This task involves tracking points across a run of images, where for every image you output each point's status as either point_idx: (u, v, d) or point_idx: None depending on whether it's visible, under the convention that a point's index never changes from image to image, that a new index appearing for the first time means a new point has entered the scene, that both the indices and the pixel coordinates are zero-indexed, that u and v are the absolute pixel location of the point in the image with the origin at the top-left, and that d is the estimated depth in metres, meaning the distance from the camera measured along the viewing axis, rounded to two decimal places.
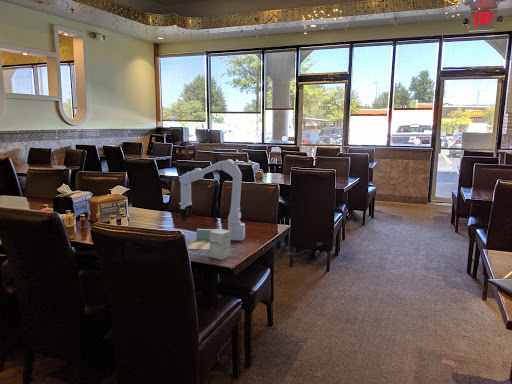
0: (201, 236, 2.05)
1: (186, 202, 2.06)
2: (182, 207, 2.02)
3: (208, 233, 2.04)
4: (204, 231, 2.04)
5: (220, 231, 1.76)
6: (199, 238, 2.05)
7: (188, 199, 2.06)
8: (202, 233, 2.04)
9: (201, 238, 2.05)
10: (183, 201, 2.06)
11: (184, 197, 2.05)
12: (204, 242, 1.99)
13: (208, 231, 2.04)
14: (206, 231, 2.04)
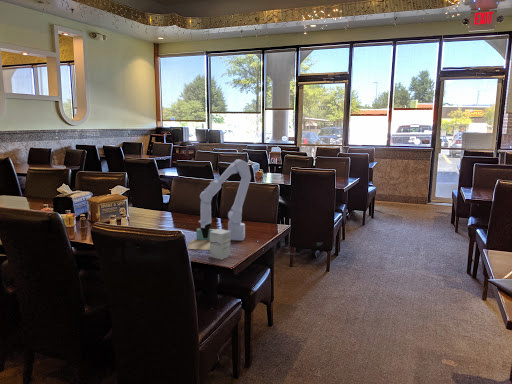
0: (201, 236, 2.05)
1: (206, 220, 2.01)
2: (202, 226, 1.97)
3: (208, 233, 2.04)
4: None
5: (220, 231, 1.76)
6: (199, 238, 2.05)
7: (208, 217, 2.01)
8: None
9: (201, 238, 2.05)
10: (203, 219, 2.01)
11: (204, 215, 2.00)
12: (204, 242, 1.99)
13: None
14: None
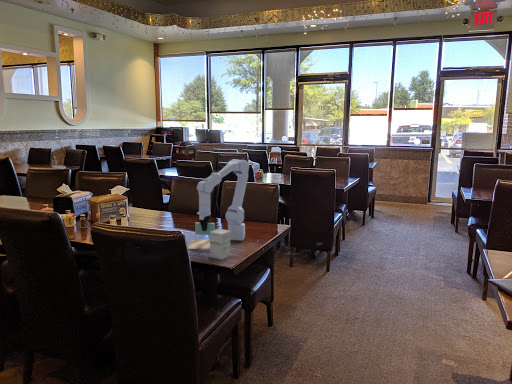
0: (200, 230, 1.93)
1: (205, 212, 1.89)
2: (201, 218, 1.85)
3: (207, 227, 1.92)
4: None
5: (220, 231, 1.76)
6: (198, 232, 1.93)
7: (207, 209, 1.90)
8: None
9: (200, 232, 1.93)
10: (202, 211, 1.89)
11: (203, 207, 1.89)
12: (204, 242, 1.99)
13: (207, 225, 1.92)
14: None
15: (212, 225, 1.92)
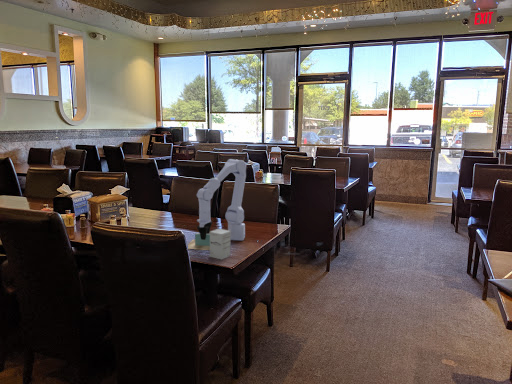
0: (200, 241, 1.94)
1: (205, 219, 1.90)
2: (201, 225, 1.86)
3: (207, 238, 1.93)
4: None
5: (220, 231, 1.76)
6: (198, 243, 1.94)
7: (207, 216, 1.90)
8: None
9: (200, 243, 1.94)
10: (202, 218, 1.90)
11: (203, 214, 1.89)
12: None
13: (207, 236, 1.93)
14: None
15: None
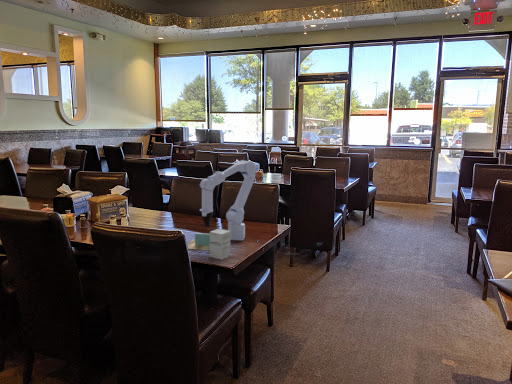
0: (200, 241, 1.94)
1: (207, 209, 1.95)
2: (204, 214, 1.90)
3: (207, 238, 1.93)
4: (203, 236, 1.93)
5: (220, 231, 1.76)
6: (198, 243, 1.94)
7: (210, 206, 1.95)
8: (201, 238, 1.94)
9: (200, 243, 1.94)
10: (204, 208, 1.95)
11: (205, 204, 1.94)
12: None
13: (207, 236, 1.93)
14: (205, 236, 1.93)
15: None
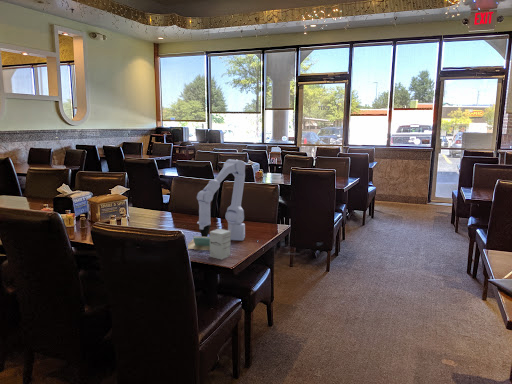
0: (199, 243, 1.93)
1: (205, 222, 1.90)
2: (201, 227, 1.86)
3: (206, 241, 1.91)
4: (201, 239, 1.90)
5: (220, 231, 1.76)
6: (197, 244, 1.94)
7: (207, 218, 1.90)
8: (200, 241, 1.91)
9: (199, 244, 1.93)
10: (202, 221, 1.90)
11: (203, 216, 1.89)
12: None
13: (206, 240, 1.90)
14: (204, 240, 1.90)
15: None
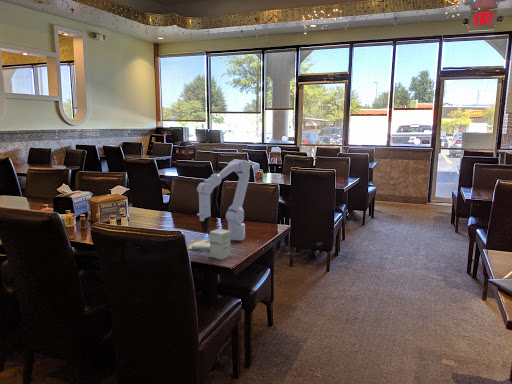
0: None
1: (205, 213, 1.92)
2: (201, 219, 1.88)
3: None
4: None
5: (220, 231, 1.76)
6: None
7: (207, 210, 1.92)
8: None
9: None
10: (202, 212, 1.92)
11: (203, 208, 1.91)
12: (204, 242, 1.99)
13: None
14: None
15: None
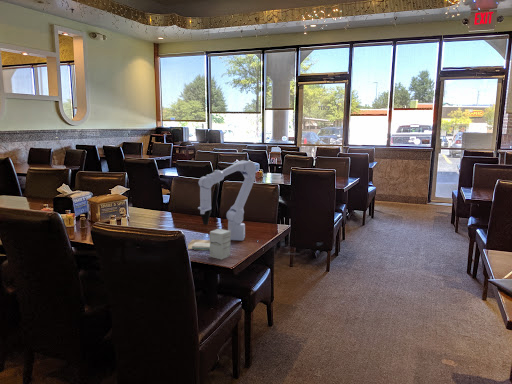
0: None
1: (206, 207, 1.95)
2: (202, 212, 1.91)
3: None
4: None
5: (220, 231, 1.76)
6: None
7: (208, 203, 1.95)
8: None
9: None
10: (203, 206, 1.95)
11: (204, 201, 1.94)
12: (204, 242, 1.99)
13: None
14: None
15: None
